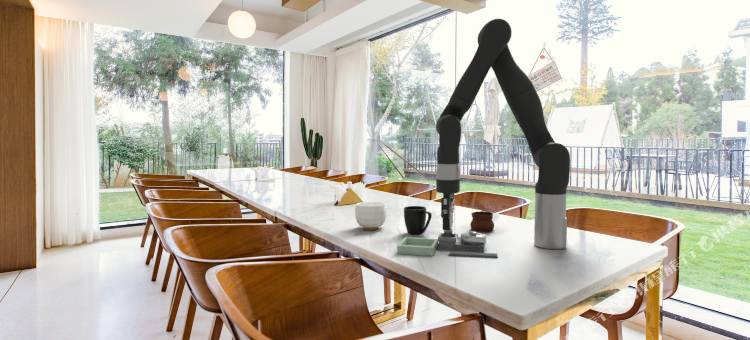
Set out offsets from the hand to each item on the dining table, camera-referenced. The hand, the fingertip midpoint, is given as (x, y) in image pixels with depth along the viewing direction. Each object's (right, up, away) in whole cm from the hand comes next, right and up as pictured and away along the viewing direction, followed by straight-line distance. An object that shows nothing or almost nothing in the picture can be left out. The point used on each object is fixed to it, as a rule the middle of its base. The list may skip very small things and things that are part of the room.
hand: (447, 227), depth 134 cm
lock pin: (0, -4, 0) cm, 4 cm away
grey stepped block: (+4, -6, -1) cm, 8 cm away
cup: (-25, -5, +28) cm, 38 cm away
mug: (-8, -5, +18) cm, 20 cm away
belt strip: (+6, -7, -11) cm, 14 cm away
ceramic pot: (+17, -5, +23) cm, 29 cm away
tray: (-10, -7, -4) cm, 13 cm away
